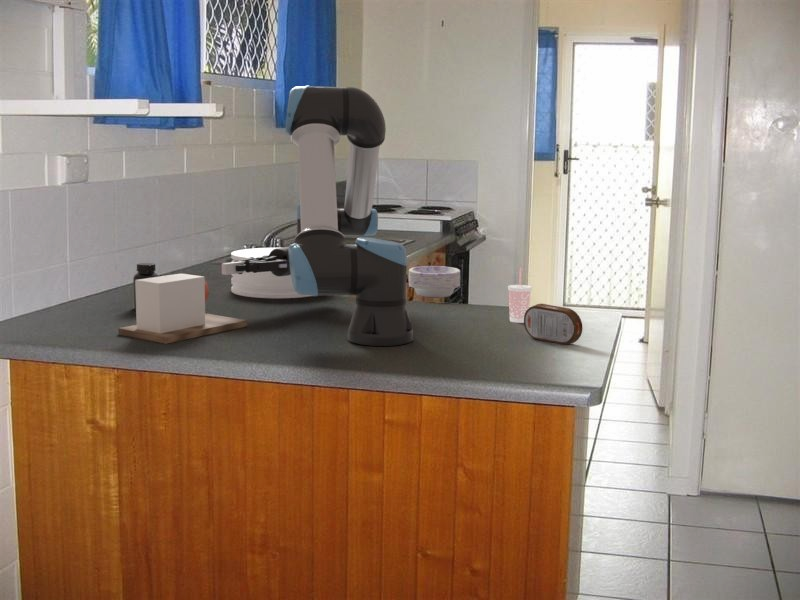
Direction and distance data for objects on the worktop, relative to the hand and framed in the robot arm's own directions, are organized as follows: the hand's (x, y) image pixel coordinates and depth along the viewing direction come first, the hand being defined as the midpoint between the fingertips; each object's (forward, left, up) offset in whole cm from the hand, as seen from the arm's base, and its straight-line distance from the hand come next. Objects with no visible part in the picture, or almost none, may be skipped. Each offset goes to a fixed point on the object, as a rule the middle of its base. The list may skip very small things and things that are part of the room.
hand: (223, 269), depth 245 cm
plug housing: (-9, +15, -12) cm, 21 cm away
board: (-7, +12, -13) cm, 19 cm away
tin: (-52, -63, -13) cm, 82 cm away
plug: (-8, +14, -8) cm, 18 cm away
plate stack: (+41, -29, -14) cm, 52 cm away
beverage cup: (-28, -70, -13) cm, 76 cm away
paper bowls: (+15, -69, -13) cm, 71 cm away
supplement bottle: (+25, +13, -13) cm, 32 cm away
